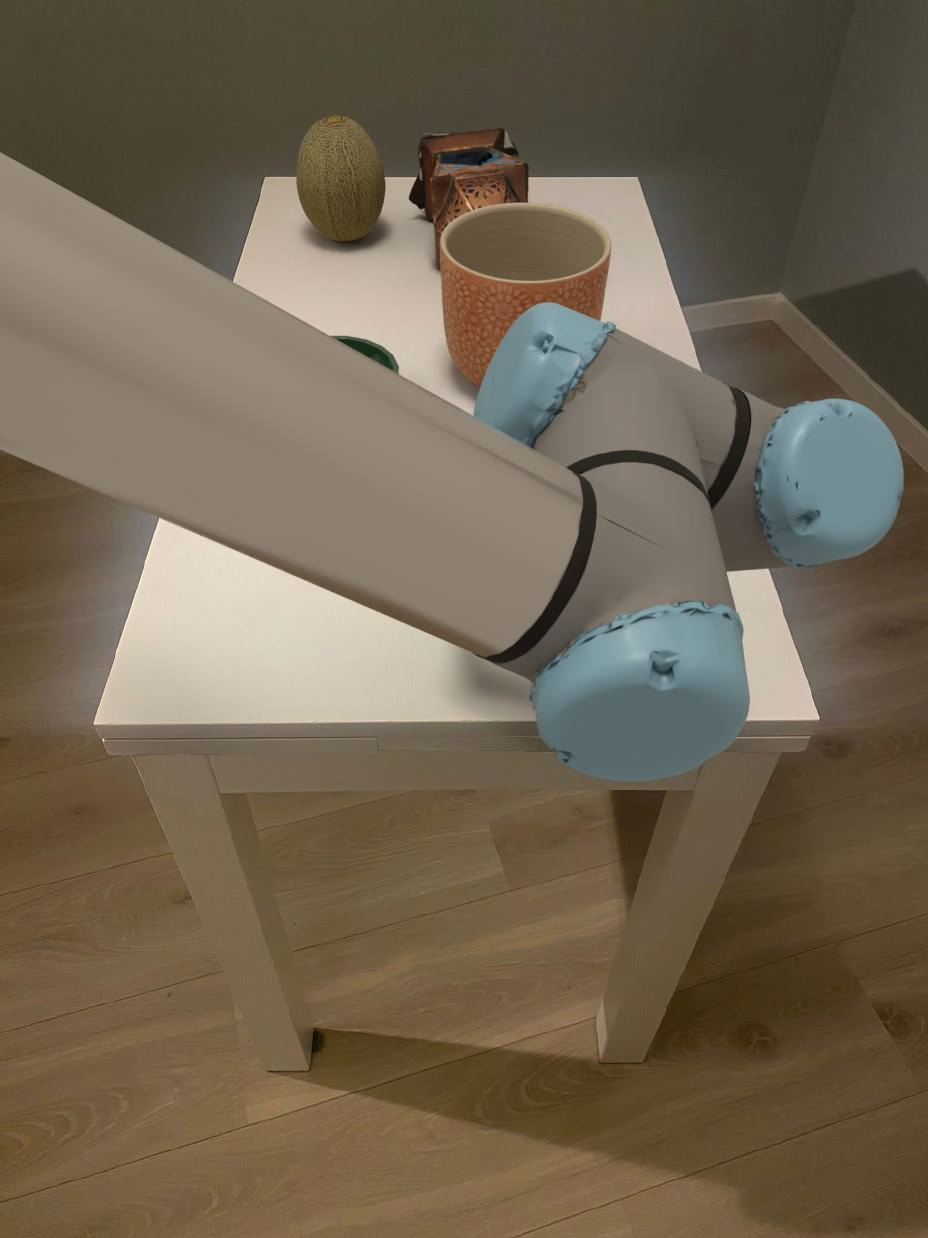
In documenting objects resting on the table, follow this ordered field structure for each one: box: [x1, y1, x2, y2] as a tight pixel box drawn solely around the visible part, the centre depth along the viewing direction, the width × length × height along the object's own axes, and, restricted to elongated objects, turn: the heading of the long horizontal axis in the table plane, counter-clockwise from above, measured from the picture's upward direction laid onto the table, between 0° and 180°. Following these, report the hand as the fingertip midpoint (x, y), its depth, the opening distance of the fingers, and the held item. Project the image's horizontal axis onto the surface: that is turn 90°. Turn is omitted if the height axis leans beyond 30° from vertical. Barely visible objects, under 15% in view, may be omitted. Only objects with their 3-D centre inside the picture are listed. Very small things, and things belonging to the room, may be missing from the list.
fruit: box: [295, 115, 387, 243], centre depth 120 cm, size 11×11×15 cm
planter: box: [440, 202, 612, 388], centre depth 98 cm, size 17×17×15 cm
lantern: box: [408, 127, 530, 270], centre depth 118 cm, size 16×16×25 cm
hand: (527, 546), depth 76 cm, fingers open, 13 cm apart
